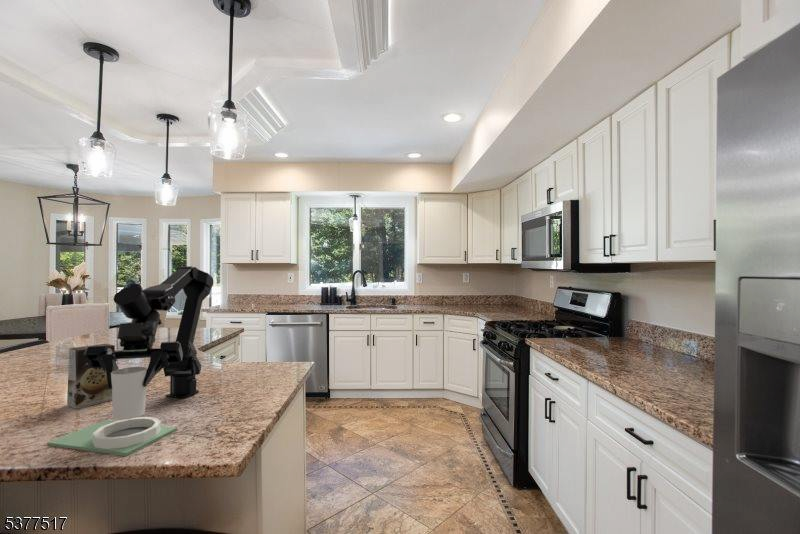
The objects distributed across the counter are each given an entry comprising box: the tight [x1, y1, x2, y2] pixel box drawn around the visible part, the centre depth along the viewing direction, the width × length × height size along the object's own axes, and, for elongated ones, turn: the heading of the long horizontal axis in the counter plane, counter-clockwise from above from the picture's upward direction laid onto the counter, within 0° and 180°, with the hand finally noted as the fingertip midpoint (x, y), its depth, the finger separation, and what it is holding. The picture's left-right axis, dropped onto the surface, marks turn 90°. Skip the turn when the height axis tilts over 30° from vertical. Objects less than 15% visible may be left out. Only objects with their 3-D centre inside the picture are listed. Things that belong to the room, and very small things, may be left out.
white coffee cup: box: [111, 366, 148, 421], centre depth 85 cm, size 7×7×10 cm
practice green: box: [46, 416, 178, 457], centre depth 86 cm, size 21×13×3 cm, turn 77°
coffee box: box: [66, 343, 116, 410], centre depth 109 cm, size 9×6×16 cm
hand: (127, 387), depth 84 cm, fingers closed on white coffee cup, 6 cm apart
